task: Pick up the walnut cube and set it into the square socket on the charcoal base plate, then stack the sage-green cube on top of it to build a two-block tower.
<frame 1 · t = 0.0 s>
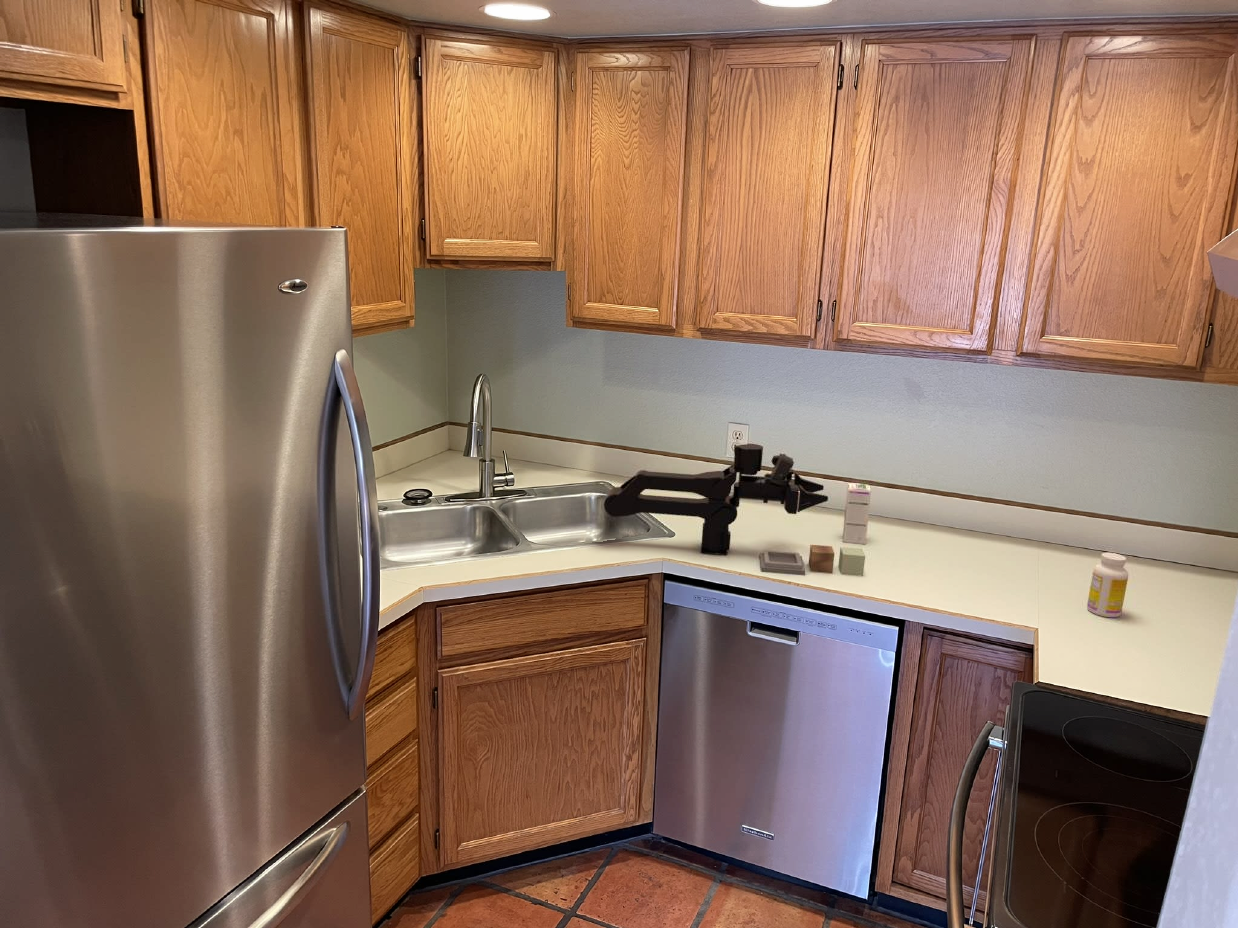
hand: (825, 493, 218), 17 cm above the counter, tool horizontal, fingers open, 9 cm apart
walnut block: (820, 568, 215), on the counter
supplement bottle: (1103, 612, 197), on the counter
sage block: (850, 571, 215), on the counter
syrup box: (853, 540, 236), on the counter
base plate: (781, 565, 216), on the counter
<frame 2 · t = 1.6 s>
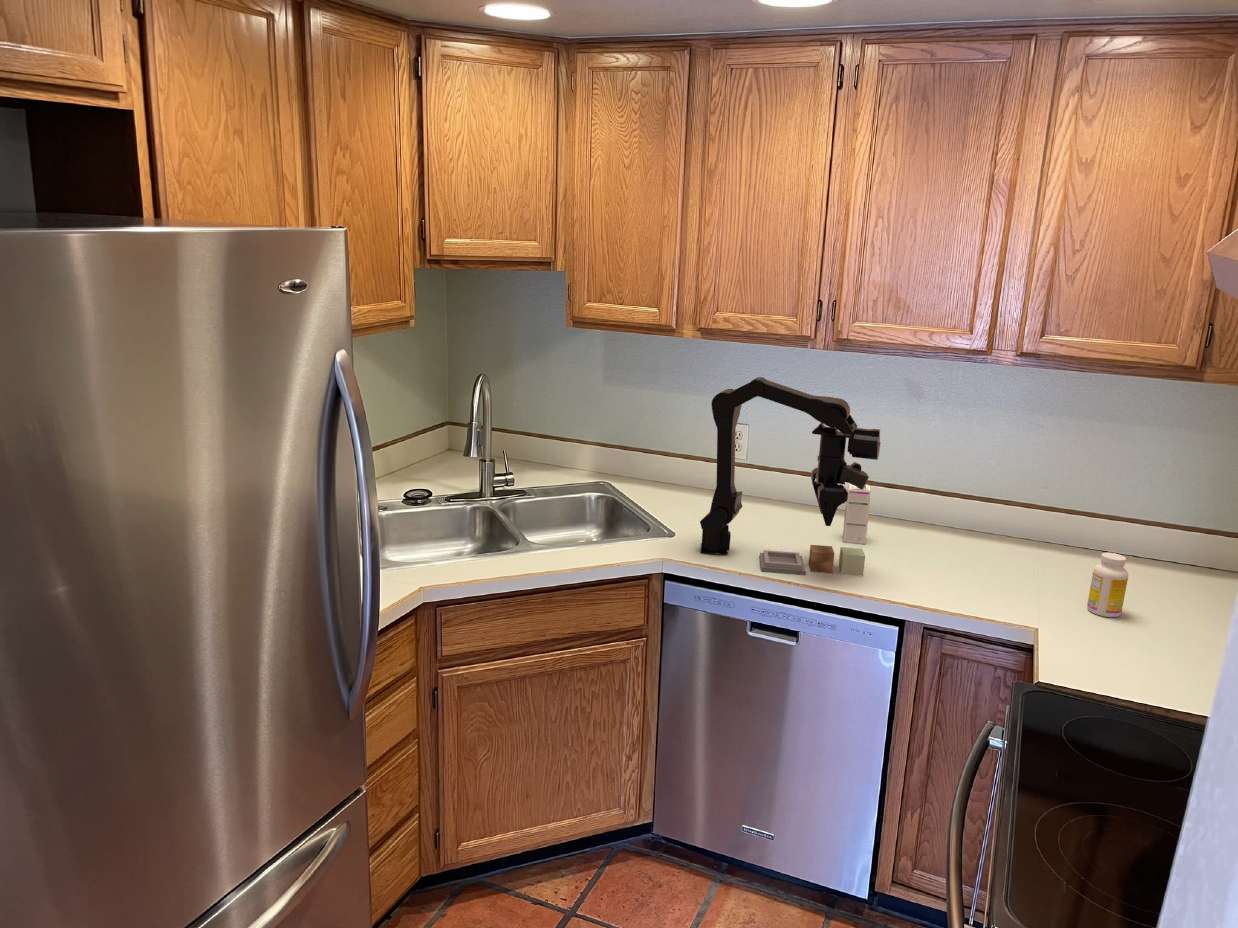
hand: (825, 519, 212), 12 cm above the counter, tool pointing down, fingers open, 9 cm apart
nothing on the counter moved.
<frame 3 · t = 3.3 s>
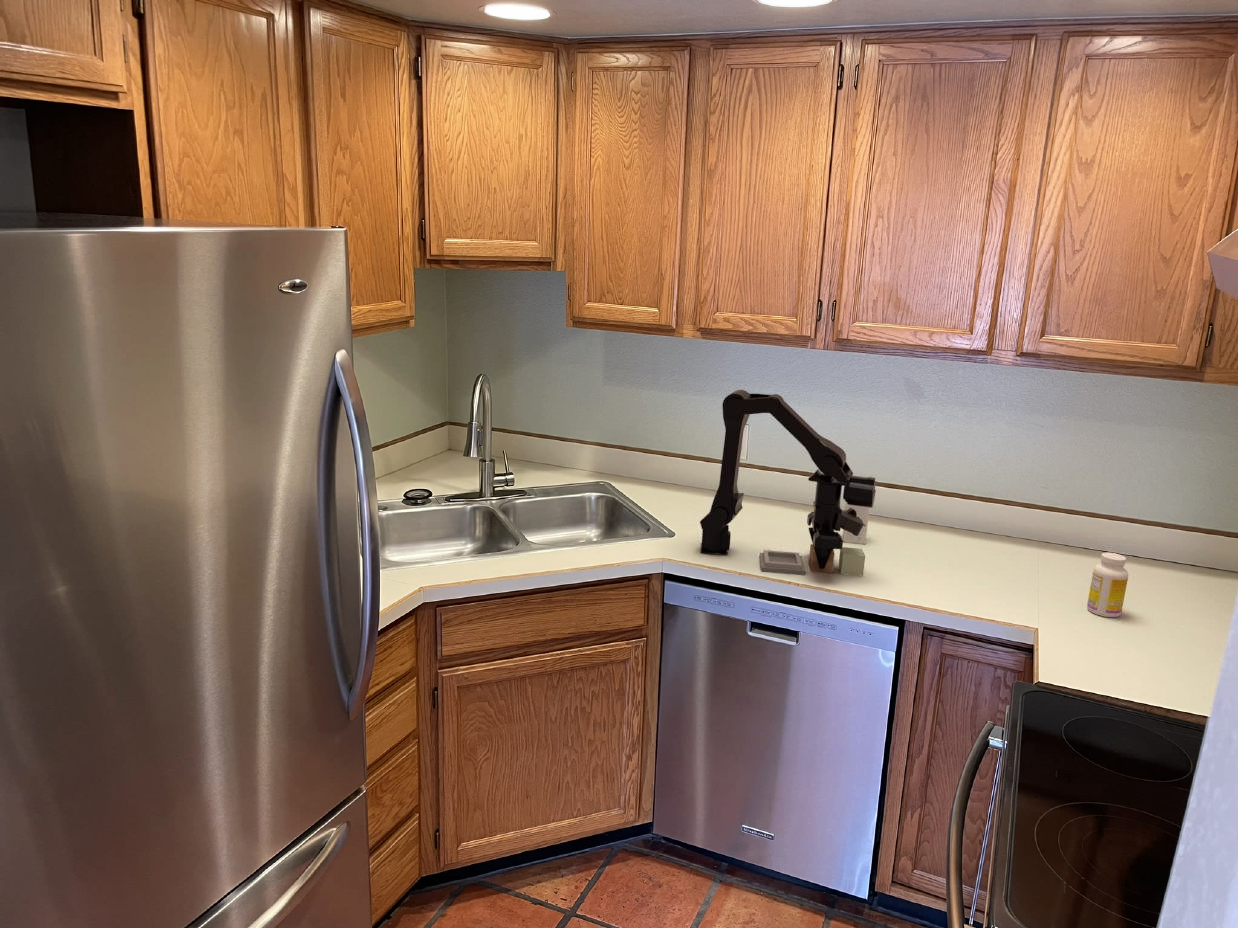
hand: (820, 564, 215), 1 cm above the counter, tool pointing down, fingers closed on walnut block, 5 cm apart
walnut block: (820, 568, 215), on the counter, touching gripper
everything else where it was.
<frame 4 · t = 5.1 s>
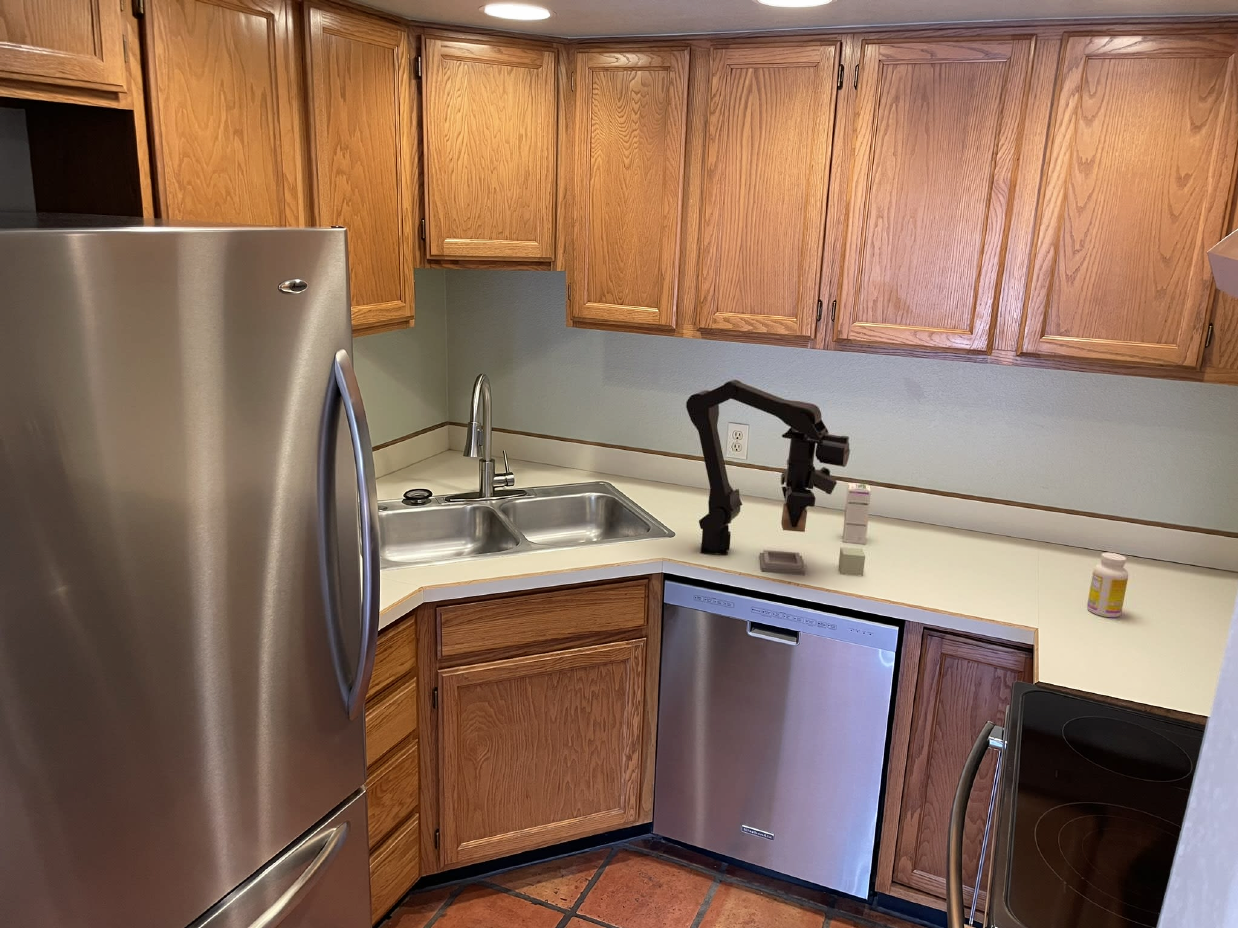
hand: (793, 523, 213), 11 cm above the counter, tool pointing down, fingers closed on walnut block, 5 cm apart
walnut block: (792, 527, 213), point 10 cm above the counter, touching gripper
everything else where it was.
when the fingers open (3 cm above the counter, at t = 7.1 s): walnut block stays where it is, resting on base plate.
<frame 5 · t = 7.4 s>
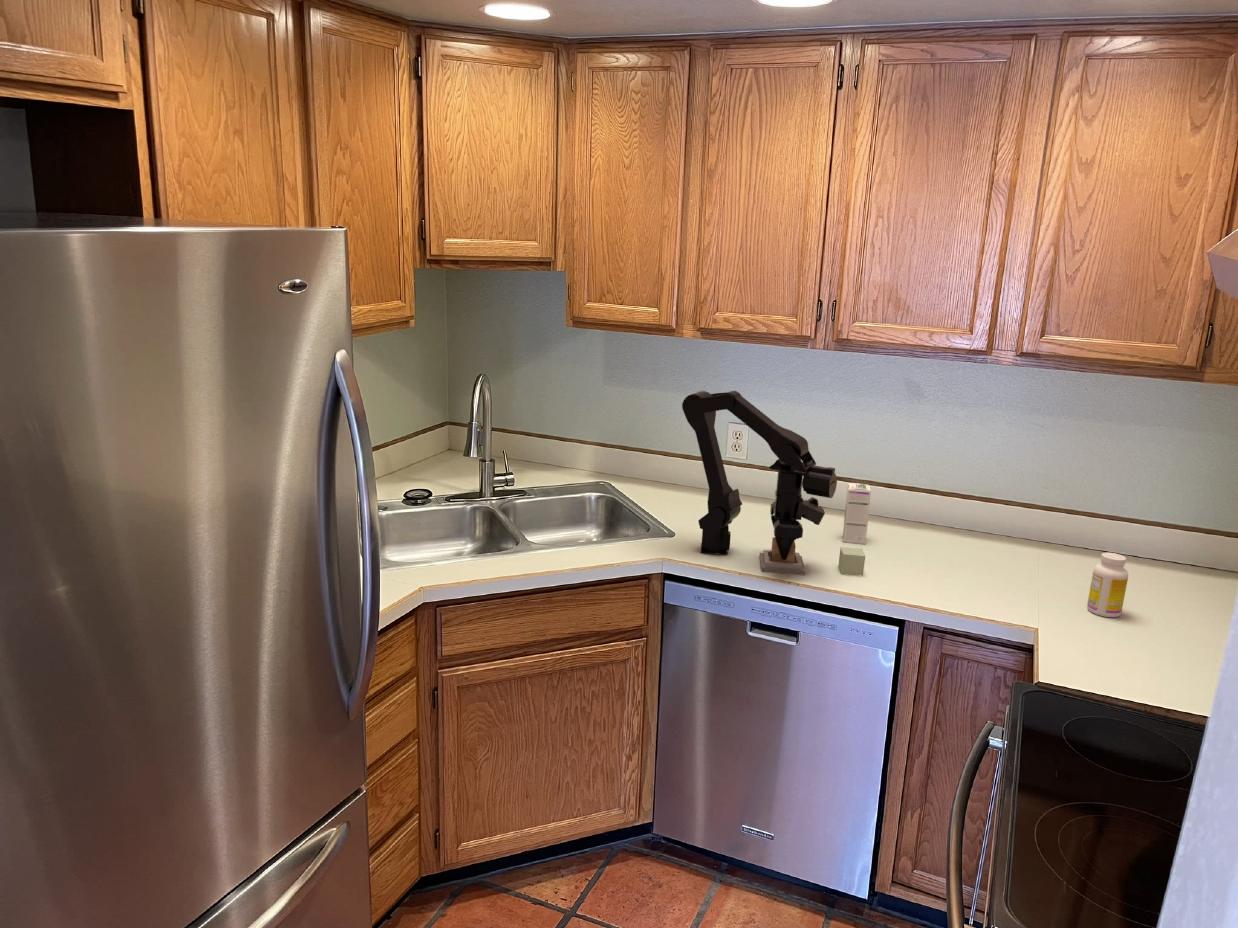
hand: (782, 553, 215), 3 cm above the counter, tool pointing down, fingers open, 8 cm apart
walnut block: (782, 561, 216), point 1 cm above the counter, touching base plate
everything else where it was.
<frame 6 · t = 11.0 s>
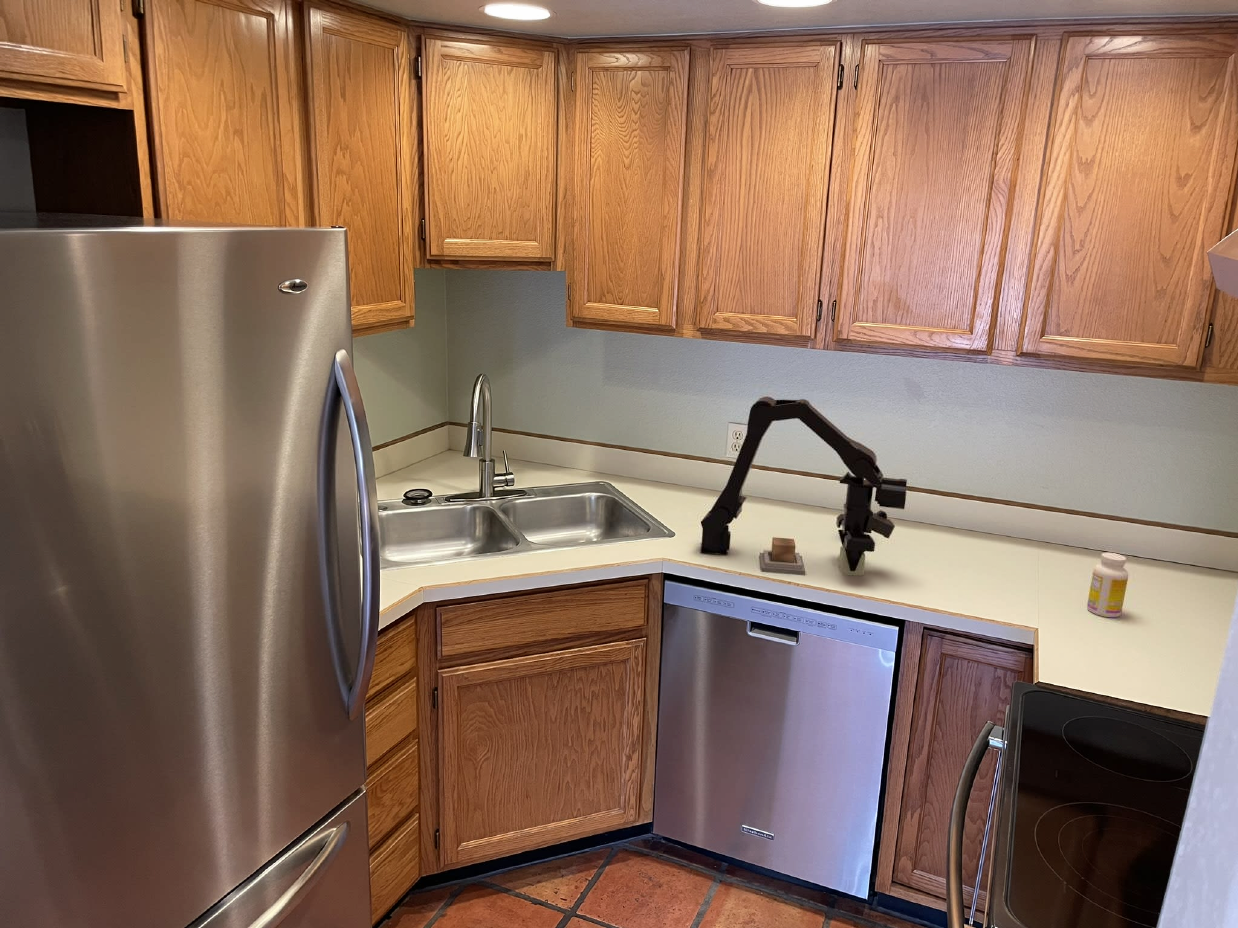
hand: (850, 566, 214), 1 cm above the counter, tool pointing down, fingers closed on sage block, 5 cm apart
sage block: (850, 570, 214), on the counter, touching gripper
everything else where it was.
when the fingers open (8 cm above the counter, at t = 14.9 s): sage block drops 1 cm, resting on walnut block.
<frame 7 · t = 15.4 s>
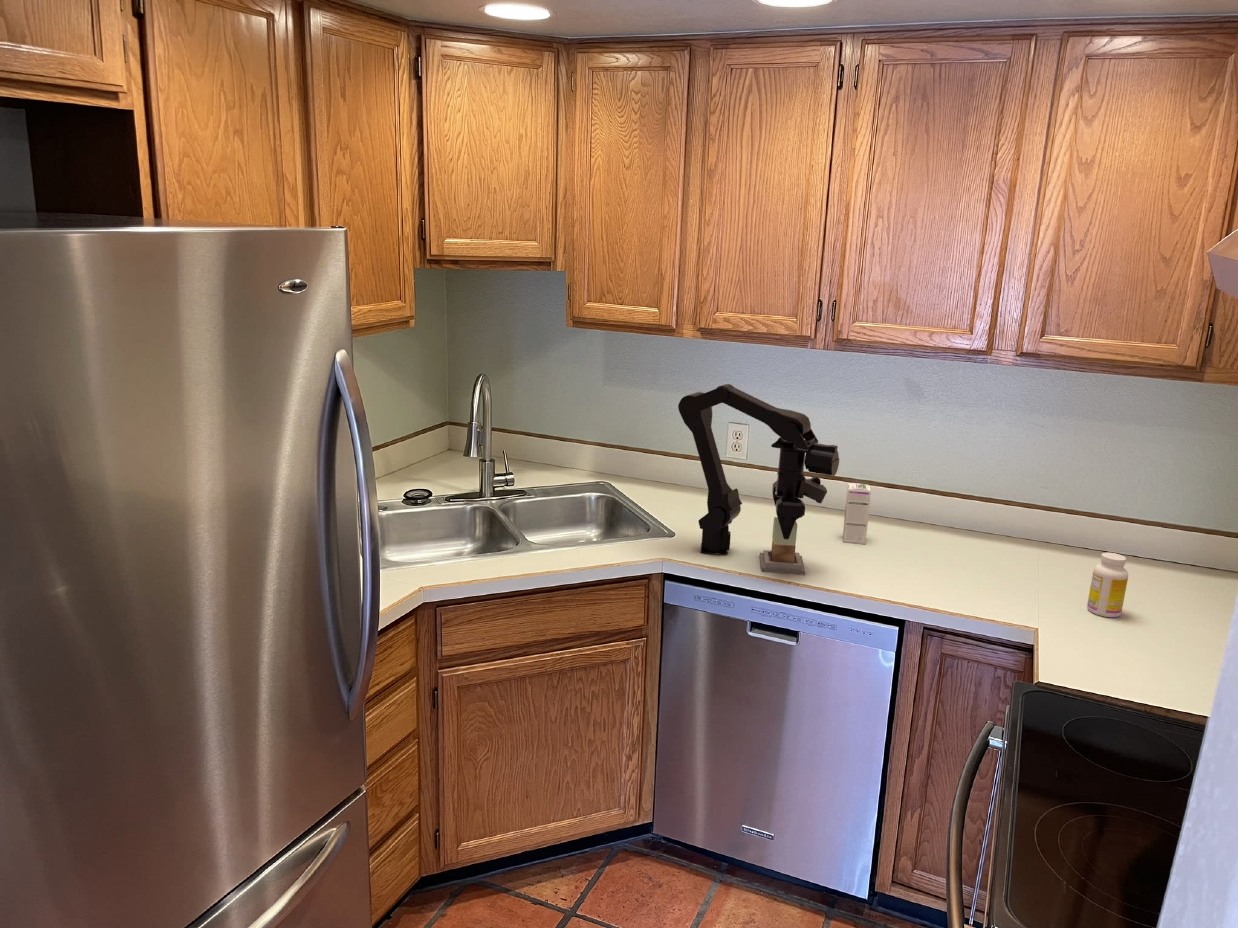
hand: (784, 532, 214), 8 cm above the counter, tool pointing down, fingers open, 9 cm apart
walnut block: (782, 561, 216), point 1 cm above the counter, touching base plate, sage block
sage block: (783, 541, 214), point 6 cm above the counter, touching walnut block
everything else where it was.
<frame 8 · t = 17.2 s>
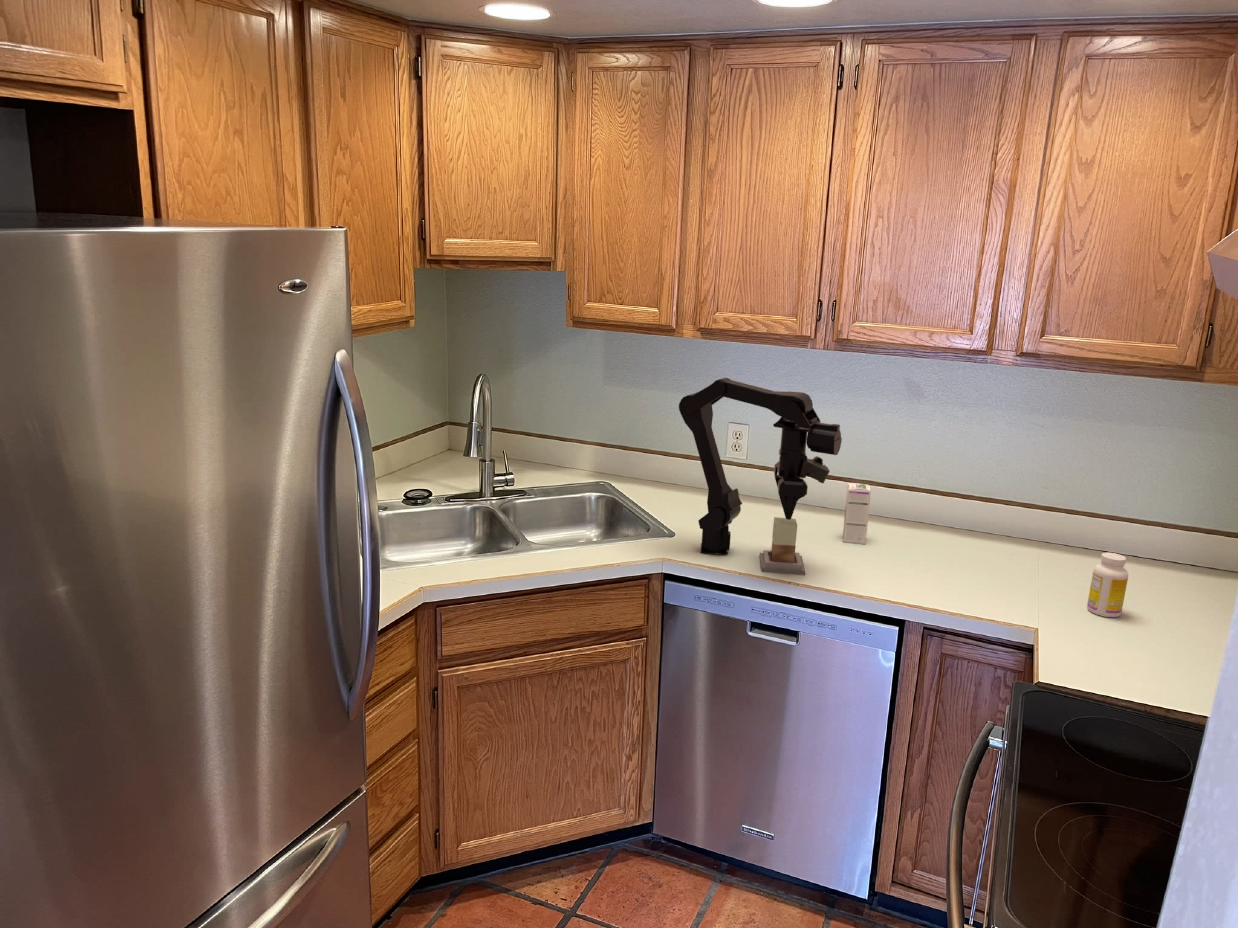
hand: (786, 513, 213), 13 cm above the counter, tool pointing down, fingers open, 9 cm apart
nothing on the counter moved.
at the end: walnut block 0.0 cm off-centre on the base plate, point 1.0 cm above the base plate's base; sage block 0.1 cm off-centre on the walnut block, point 5.0 cm above the walnut block's base; sage block tilted 0° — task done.
